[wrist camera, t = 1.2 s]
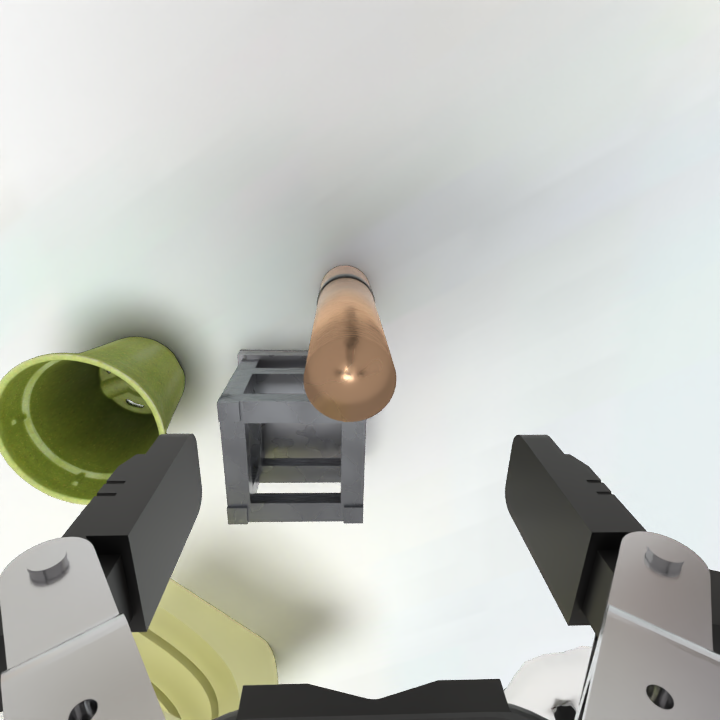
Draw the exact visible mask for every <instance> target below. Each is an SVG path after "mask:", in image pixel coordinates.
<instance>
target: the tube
mask: <svg viewBox="0 0 720 720" xmlns="http://www.w3.org/2000/svg"><path fill="white" fill-rule="evenodd" d="M395 387H396V371H395V367H394V364H393V361H392V358H391V354H390V351H389V348H388V345H387V341H386V338H385V335H384V331H383V328H382V325H381V322H380V318H379V315H378V312H377V309H376V305H375V300H374V296H373V293H372V290H371V288H370V286H369V282H368V280H367V278H366V276H365V275H364V274H363V273H362V272H361V271H360V270H359V269H357V268H355V267H352V266H347V265H344V266H338V267H335V268H333V269H332V270H330V271H329V272H328V273H327V274H326V275H325V277H324V278H323V280H322V283H321V289H320V292H319V295H318V300H317V309H316V314H315V320H314V325H313V330H312V335H311V340H310V345H309V351H308V356H307V361H306V366H305V371H304V388H305V392H306V395H307V397H308V399H309V401H310V402H311V403H312V405H313V406H314V407H315V408H316V409H317V410H318V411H319V412H320V413H322V414H323V415H325V416H327V417H329V418H331V419H334V420H337V421H343V422H356V421H362V420H365V419H368V418H370V417H372V416H374V415H376V414H377V413H379V412H380V411H381V410H382V409H383V408H384V407H385V406H386V405H387V404H388V403H389V401H390V399H391V398H392V396H393V393H394V390H395Z"/></svg>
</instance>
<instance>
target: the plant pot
mask: <svg viewBox="0 0 720 720" xmlns="http://www.w3.org/2000/svg"><path fill="white" fill-rule="evenodd" d="M107 371H109V372H111V373H108V372H107ZM184 386H185V376H184V372H183V370H182V368H181V366H180V365H179V363H178V361H177V359H176V357H175V356H174V354H173V353H172V352H171V351H170V350H169V349H168V348H167V347H165V346H164V345H162V344H160V343H159V342H157V341H154V340H151V339H148V338H143V337H127V338H123V339H119V340H116V341H114V342H111V343H108V344H105V345H103V346H100V347H97V348H94V349H91V350H88V351H85V352H82V353H75V354H74V353H53V354H46V355H41V356H38V357H35V358H32V359H29V360H27V361H25V362H22V363H21V364H19V365H17V366H16V367H14V368H13V369H12V370H10V371H9V372H8V373H7V374H6V375H5V376H4V377H3V378H2V380H1V381H0V453H1V454H2V456H3V457H4V459H5V460H6V462H7V463H8V465H9V466H10V467H11V468H12V469H13V470H14V471H15V472H16V473H17V474H18V475H19V476H20V477H21V478H22V479H23V480H25V481H26V482H27V483H29V484H30V485H32V486H33V487H35V488H36V489H38V490H40V491H41V492H43V493H45V494H47V495H49V496H51V497H54V498H57V499H60V500H63V501H66V502H70V503H75V504H82V505H88V504H89V502H90V501H91V500H92V499H93V497H94V496H97V492H98V491H99V490H100V489H101V487H102V486H103V485H104V484H106V483H107V480H108V479H109V477H110V476H111V475H112V474H113V472H114V471H115V470H116V468H117V467H118V466H120V465H121V464H123V463H124V462H126V461H127V460H129V459H130V458H132V457H133V456H135V455H136V454H146V453H147V451H148V450H149V449H150V447H151V446H152V445H153V443H154V442H155V440H156V439H157V438H158V436H159V435H161V434H166V430H167V428H168V425H169V423H170V421H171V419H172V416H173V414H174V411H175V409H176V407H177V405H178V402H179V400H180V398H181V396H182V394H183V391H184ZM126 399H128V400H131V401H133V402H134V403H137V404H140V405H144V407H142V408H139V407H135V406H132V405H130V404H128V403H127V402H126Z"/></svg>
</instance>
